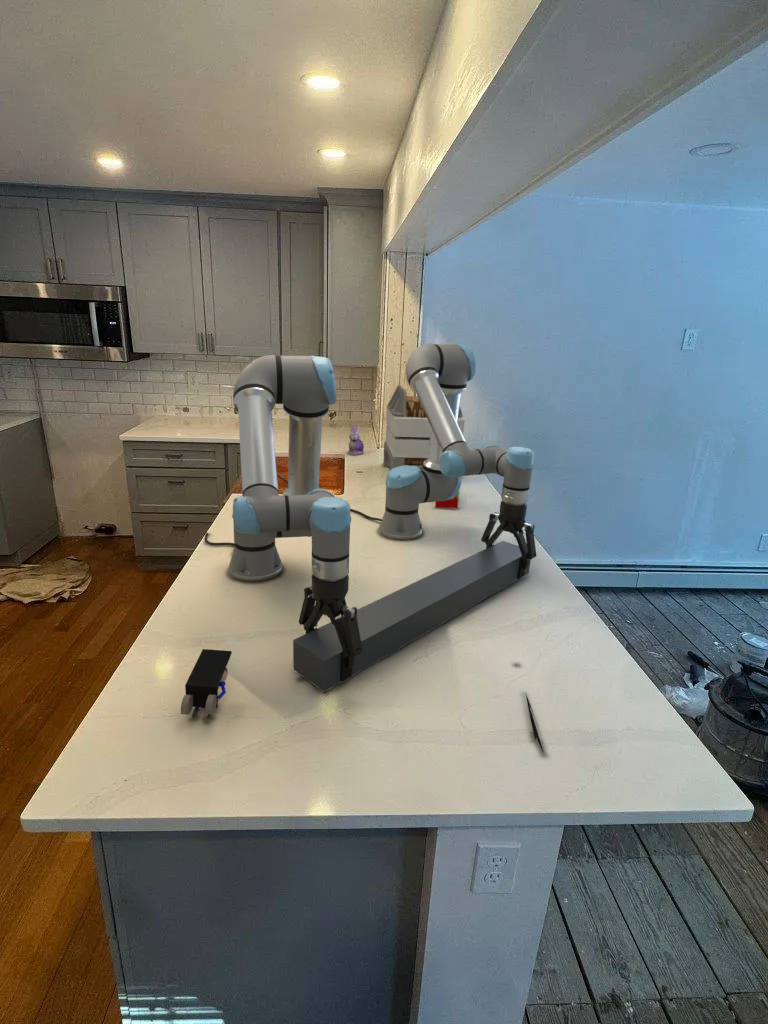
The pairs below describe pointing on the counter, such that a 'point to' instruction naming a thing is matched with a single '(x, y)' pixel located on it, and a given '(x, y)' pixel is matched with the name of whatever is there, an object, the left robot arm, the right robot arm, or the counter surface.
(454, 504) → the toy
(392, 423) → the grey slatted crate
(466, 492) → the counter surface
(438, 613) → the dark gray long bar
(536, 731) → the feather
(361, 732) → the counter surface
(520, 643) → the counter surface
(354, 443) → the figurine
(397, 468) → the right robot arm
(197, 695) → the black toy cart
